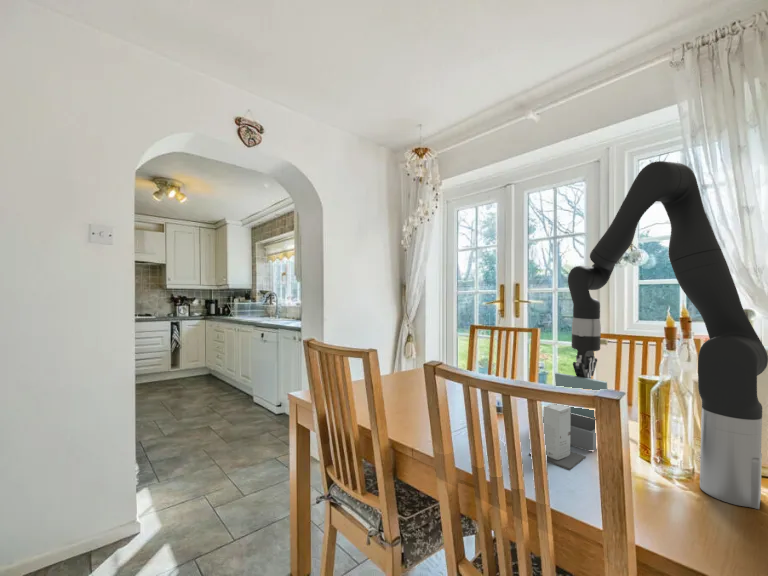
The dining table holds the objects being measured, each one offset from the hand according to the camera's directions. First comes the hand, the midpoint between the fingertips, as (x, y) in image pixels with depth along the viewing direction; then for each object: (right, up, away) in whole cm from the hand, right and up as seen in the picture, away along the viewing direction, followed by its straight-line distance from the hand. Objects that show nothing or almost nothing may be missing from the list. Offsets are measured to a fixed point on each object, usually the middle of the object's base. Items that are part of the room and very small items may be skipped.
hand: (584, 391), depth 111 cm
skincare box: (-16, -11, -17) cm, 26 cm away
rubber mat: (-16, -12, -17) cm, 26 cm away
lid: (-2, -1, -2) cm, 3 cm away
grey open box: (-6, -12, -5) cm, 14 cm away
